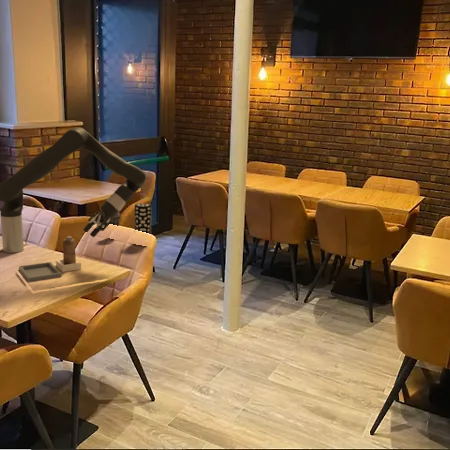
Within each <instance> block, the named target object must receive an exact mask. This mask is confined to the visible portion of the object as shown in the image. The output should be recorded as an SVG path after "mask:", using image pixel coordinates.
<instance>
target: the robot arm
mask: <svg viewBox="0 0 450 450" xmlns="http://www.w3.org/2000/svg"><path fill="white" fill-rule="evenodd" d="M81 149H83V150H85V151H87V152H89V153H90V154H92V155H93V156H94V157H95V158H96V159H98V161H99V162H100V163H101V164H102V165H103V166H104V167H105V168H107V169H109V170H110V171H111V172H113V173H114V174H116V175H117V176H120V177H121V176H122V177H123V178H125V179H126V180H125V181H124V183H123V184H120V185H119V186H118V187H117V188H116V189H115V191H114V192H113V193H112V194H111V195H109V197H107V198H106V200H105V201H104V202H103V203H102V204H101V205H100V206H99V210H100V211H98V210H96V211H95V212H94V213H93V214H92V215H91V216H90V217H89V218H88V220H87V222H88V223H87V224H86V226H84V228H83V231H84V232H85V233H88V232H90V230H91V229H92V228H93V227H94V226H95V225H96V226H95V228H94V229H93V230H92V231H91V232H90V234H89V235H90V236H91V237H92V238H95V237H96V236H97V235H98V234H99V233H100V232H103V231H105V230H106V229H107V228H108V225H109V224H110V223H111V221H112V220H110V219H109V218H111V219H113V218H114V217H115V216H116V215H117V214H118V213H119V214H120V211H122V209H123V208H124V207H125V205H126V204H127V203H128V202H129V200H130V199H131V198H132V197H133V195H135V194H136V193H137V192H138V190H140V188H142V186H143V185H144V184H145V182H146V174H145V172H144V170H142V169H141V168H140V167H137V166H136V165H134V164H131V163H129V162H127V161H126V160H125V159H123V158H121V156H118V155H117V153H114V152H113V151H111V150H109V149H108V148H107V147H106V146H104V145H103V144H101V143H100V142H99V141H98V140H97V139H96V138H95V137H94V136H92V135H91V134H90V132H88V131H87V130H85V129H84V128H83V127H80V126H79V127H77V126H76V127H72V128H70V129H68V130H67V131H65V133H64V134H62V136H60V138H59V139H58V140H56V142H55V143H54V144H53V145H50V146H49V147H48V148H45V149H44V150H42V151H41V152H40V153H39V154H37V155H36V156H34V157H33V158H31V160H29V161H28V162H27V163H26V164H25V165H24V166H22V167H21V168H20V169H19V170H18V171H17V172H16V173H15V174H13V175H12V176H10V177H9V178H7V179H6V180H3V181H2V182H0V202H3V206H2V207H1V208H0V226H1V242H2V243H1V244H2V251H3V252H4V253H8V254H13V253H20V252H23V251H24V250H25V248H24V247H25V245H24V230H23V229H24V227H23V213H22V212H23V210H24V209H23V208H24V189H25V188H26V187H28V186H30V185H33V184H34V183H35V182H38V181H40V180H42V179H43V178H44V177H46V176H47V175H49V174H50V173H51V172H53V170H55V169H56V168H57V167H58V165H59V164H61V162H62V161H63V160H64V159H65V158H67V157H68V156H70V155H71V154H73V153H75V152H77V151H79V150H81Z"/></svg>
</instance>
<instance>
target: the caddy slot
mask: <svg viewBox="0 0 450 450" xmlns="http://www.w3.org/2000/svg"><path fill="white" fill-rule="evenodd" d="M55 265H56V266H55V267H56V268H57V269H58V270H59V271H60V272H61V273H62V272H70V271H77V270H81V269H82V262H76V263H74V264H67V265H64V259H63V258H60V259H55Z"/></svg>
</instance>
